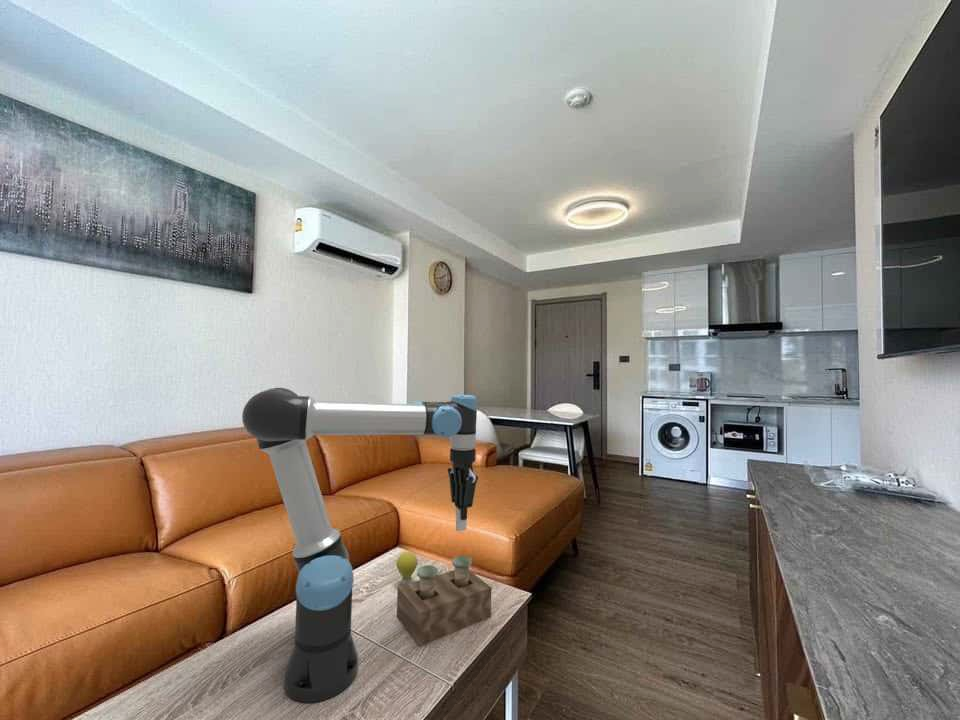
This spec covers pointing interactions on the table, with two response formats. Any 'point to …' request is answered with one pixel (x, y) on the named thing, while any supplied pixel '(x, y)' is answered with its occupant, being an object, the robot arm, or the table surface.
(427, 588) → the near plunger
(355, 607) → the table surface
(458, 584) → the far plunger
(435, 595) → the socket block
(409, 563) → the yellow light bulb
